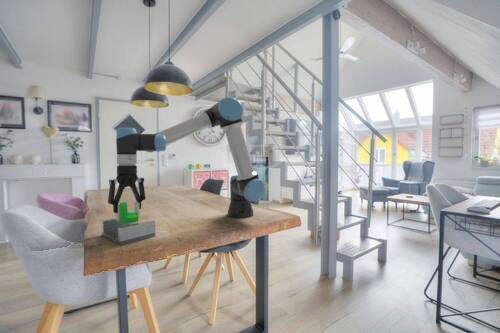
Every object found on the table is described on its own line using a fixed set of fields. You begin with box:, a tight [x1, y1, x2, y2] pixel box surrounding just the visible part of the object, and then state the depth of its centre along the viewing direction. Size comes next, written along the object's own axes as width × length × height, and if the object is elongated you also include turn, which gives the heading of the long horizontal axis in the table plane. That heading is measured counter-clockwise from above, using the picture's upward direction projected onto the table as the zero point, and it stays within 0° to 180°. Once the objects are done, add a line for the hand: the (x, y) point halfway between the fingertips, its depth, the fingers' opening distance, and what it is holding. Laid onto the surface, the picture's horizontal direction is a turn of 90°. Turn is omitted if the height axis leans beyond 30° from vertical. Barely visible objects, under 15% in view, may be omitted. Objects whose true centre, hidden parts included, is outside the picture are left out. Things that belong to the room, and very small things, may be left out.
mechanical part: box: [119, 201, 139, 224], centre depth 101 cm, size 12×6×8 cm, turn 35°
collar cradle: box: [100, 217, 156, 246], centre depth 102 cm, size 19×14×6 cm
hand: (127, 218), depth 101 cm, fingers closed on mechanical part, 7 cm apart
